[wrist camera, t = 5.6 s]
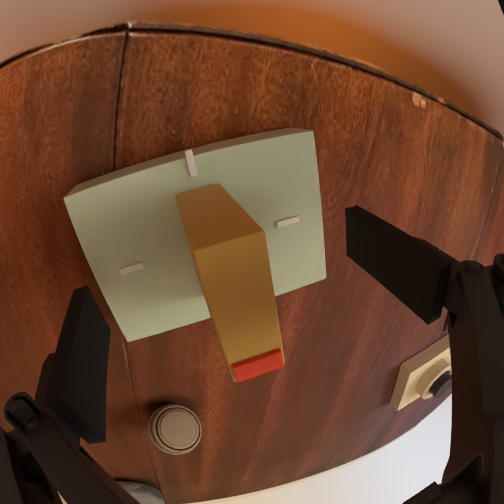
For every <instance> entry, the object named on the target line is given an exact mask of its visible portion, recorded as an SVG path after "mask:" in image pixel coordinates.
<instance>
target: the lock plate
mask: <svg viewBox="0 0 504 504" xmlns="http://www.w3.org/2000/svg"><path fill="white" fill-rule="evenodd" d="M215 184H220V185H221V186H222V187H223V188H224V189H225V190H226V191H227V192H228V193H229V194H230V195H231V196H232V197H233V198H234V199H235V200H236V201H237V202H238V203H239V205H240V206H241V207H242V208H243V209H244V210H245V211H246V212H247V213H248V214H249V215H250V216H251V217H252V218H253V219H254V220H255V222H256V223H257V224H258V225H259V226H260V227H261V228H262V229H263V230H264V231H265V235H266V242H267V248H268V254H269V261H270V267H271V274H272V280H273V287H274V293H275V296H277V295H280V294H283V293H286V292H289V291H292V290H295V289H298V288H300V287H303V286H306V285H309V284H312V283H314V282H317V281H320V280H323V279H325V278H326V268H325V250H324V235H323V221H322V209H321V198H320V187H319V177H318V168H317V159H316V150H315V142H314V134H313V131H312V130H307V129H300V128H293V127H289V128H283V129H277V130H272V131H266V132H261V133H256V134H251V135H246V136H242V137H237V138H232V139H228V140H223V141H219V142H215V143H211V144H207V145H203V146H199V147H195V148H191V149H187V150H183V151H179V152H176V153H172V154H169V155H165V156H162V157H158V158H155V159H151V160H148V161H145V162H142V163H138V164H135V165H132V166H129V167H126V168H123V169H120V170H117V171H114V172H111V173H108V174H105V175H102V176H99V177H97V178H94V179H91V180H88V181H86V182H83V183H80V184H78V185H76V186H75V187H74V188H73V189H72V190H71V191H70V192H69V193H68V194H67V195H66V196H65V197H64V198H63V199H64V202H65V205H66V208H67V210H68V213H69V216H70V219H71V221H72V224H73V227H74V229H75V232H76V234H77V237H78V239H79V242H80V244H81V247H82V249H83V251H84V254H85V256H86V258H87V261H88V263H89V265H90V268H91V270H92V272H93V274H94V276H95V279H96V281H97V283H98V285H99V287H100V289H101V291H102V293H103V295H104V298H105V300H106V302H107V304H108V306H109V308H110V310H111V311H112V313H113V315H114V317H115V319H116V321H117V323H118V325H119V327H120V329H121V330H122V332H123V334H124V336H125V338H126V339H127V341H128V342H130V341H133V340H137V339H141V338H144V337H148V336H151V335H155V334H158V333H161V332H165V331H168V330H172V329H175V328H178V327H182V326H185V325H188V324H191V323H195V322H198V321H201V320H204V319H208V318H211V316H210V313H209V310H208V307H207V304H206V301H205V298H204V295H203V292H202V288H201V285H200V282H199V278H198V275H197V272H196V268H195V265H194V262H193V258H192V255H191V251H190V248H189V244H188V241H187V237H186V233H185V230H184V226H183V222H182V219H181V215H180V211H179V208H178V204H177V200H176V195H178V194H182V193H185V192H189V191H192V190H196V189H200V188H204V187H207V186H211V185H215Z"/></svg>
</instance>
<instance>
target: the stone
mask: <svg viewBox="0 0 504 504" xmlns="http://www.w3.org/2000/svg"><path fill="white" fill-rule="evenodd" d="M116 482H117V483H118V484H119V485H120V486H121V487H122V488H124V489H125V490H126V491H127V492H128V493H129V494H130V495H131V496H132V497H134V498H135V499H136V500H137V501H138V502H139V503H141V504H165V502H164V500H163V498H162V495H161V493H160V492H159V491H158V490H157V489H155V488H154V487H152V486H150V485H147V484H142V483H136V482H130V481H116Z"/></svg>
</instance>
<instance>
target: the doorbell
mask: <svg viewBox="0 0 504 504" xmlns="http://www.w3.org/2000/svg"><path fill="white" fill-rule="evenodd" d="M446 371H448V372H449V373H450V374H451V357H450V344H449V334H447V335H446V336H444V337H443V338H441V339H440V340H438V341H437V342H435V343H434V344H432V345H431V346H429V347H428V348H426V349H424V350H423V351H421V352H420V353H418V354H416V355H415V356H413V357H411V358H410V359H408V360H406V361H405V362H403V363H401V366H400V370H399V373H398V377H397V380H396V384H395V387H394V391H393V394H392V397H391V400H390V403H391V404H392V405H393V406H394V408H395V409H396V410H397V411H398V410H400V409H401V408H403V407H404V406H406V405H408V404H409V403H411V402H412V401H414V400H415V399H417V398H418V397H420V396H421V397H422V398H423V399H427V398H430V397H431V396H433V395H432V393H431V392H430V391H429V389H430V387H431V386H432V384H433V383H434V382H435V381H436V380H437V379H438V378H439V377H440V376H441V375H442V374H443V373H445V372H446Z"/></svg>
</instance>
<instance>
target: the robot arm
mask: <svg viewBox="0 0 504 504" xmlns="http://www.w3.org/2000/svg"><path fill="white" fill-rule="evenodd" d="M345 216H346V245H347V256H348V257H349V258H351V259H352V260H353V261H354V262H356V263H357V264H358V265H359V266H360V267H362V268H363V269H364V270H365V271H366V272H368V273H369V274H370V275H371V276H372V277H374V278H375V279H376V280H377V281H378V282H380V283H381V284H382V285H383V286H384V287H385V288H387V289H388V290H389V291H390V292H391V293H392V294H394V295H395V296H396V297H397V298H398V299H399V300H400V301H402V302H403V303H404V304H405V305H406V306H407V307H408V308H410V309H411V310H412V311H413V312H414V313H415V314H416V315H418V316H419V317H420V318H421V319H422V320H423V321H424V322H425V323H426V324H428V325H429V324H430V323H432V322H434V321H435V320H437V319H438V318H440V316H441V312H442V308H443V306H444V307H445V308H446V309H447V310H448V313H447V316H446V320H445V323H444V327H443V331H445V330H446V327H447V326H448V333H449V344H450V357H451V376H452V428H451V430H452V431H451V447H450V456H449V460H448V463H447V465H446V467H445V470H444V473H443V478H442V483H441V484H439V485H437V483H436V482H433V483H432V484H430V485H429V486H428V487H426V488H425V489H423V490H422V491H420V492H419V493H418V494H416V495H415V496H413V497H411V498H410V499H408V500H406V501H405V502H404V503H403V504H504V254H497V255H496V256H495V258H494V262H493V265H491V266H486V267H484V266H483V265H482V264H480V263H478V262H476V261H471V260H465V261H463V262H461V263H460V262H459V261H457V260H456V259H454V258H453V257H451V256H449V255H448V254H446V253H445V252H443V251H441V250H439V249H438V248H437V247H435V246H433V245H432V244H430V243H428V242H427V241H425V240H422V239H419V238H416V237H412V236H410V235H408V234H407V233H405V232H403V231H402V230H400V229H398V228H396V227H395V226H393V225H391V224H389V223H388V222H386V221H384V220H382V219H381V218H379V217H377V216H375V215H374V214H372V213H370V212H368V211H366V210H364V209H363V208H361V207H359V206H354V207H350V208H346V209H345ZM110 331H111V329H110V328H109V326H108V324H107V322H106V320H105V318H104V317H103V315H102V313H101V311H100V309H99V307H98V305H97V303H96V301H95V299H94V297H93V295H92V293H91V291H90V289H89V287H88V286H84V287H81V288H78V289H75V290H74V292H73V295H72V298H71V301H70V304H69V307H68V310H67V313H66V316H65V320H64V323H63V326H62V330H61V333H60V337H59V340H58V344H57V348H56V351H55V353H51V354H49V355H48V357H47V359H46V360H45V362H44V363H43V367H42V371H41V375H40V379H39V383H38V387H37V391H36V396H35V401H34V400H33V399H32V398H31V397H30V396H29V395H28V394H27V393H25V392H20V393H16V394H15V395H13V396H12V397H11V398H10V399H9V400H8V401H7V403H6V405H5V408H4V417H5V419H6V420H7V421H8V422H9V423H10V424H11V425H12V426H13V427H15V428H16V429H15V430H13V431H11V432H8V433H6V432H5V431H4V430H3V429H2V428H1V427H0V504H63V503H62V501H61V498H60V496H59V494H58V492H59V493H60V495H61V496H62V497H63V499H64V500H65V501H66V502H67V504H141V503H139V502H138V501H137V500H136V499H135V498H134V497H132V496H131V495H130V494H129V493H128V492H127V491H126V490H125V489H124V488H122V487H121V486H120V485H119V484H118V483H117V482H116V481H115V480H114V479H113V478H112V477H111V476H110V475H109V474H108V473H107V472H106V471H105V470H104V469H103V468H102V467H101V466H100V465H99V464H98V463H97V462H96V461H95V460H94V459H93V458H92V457H91V456H90V455H89V454H88V452H87V451H86V450H85V449H84V448H83V447H82V446H80V437H81V438H83V439H84V440H85V441H86V442H87V443H88V444H92V443H99V442H106V384H107V367H108V353H109V342H110ZM57 491H58V492H57Z"/></svg>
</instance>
